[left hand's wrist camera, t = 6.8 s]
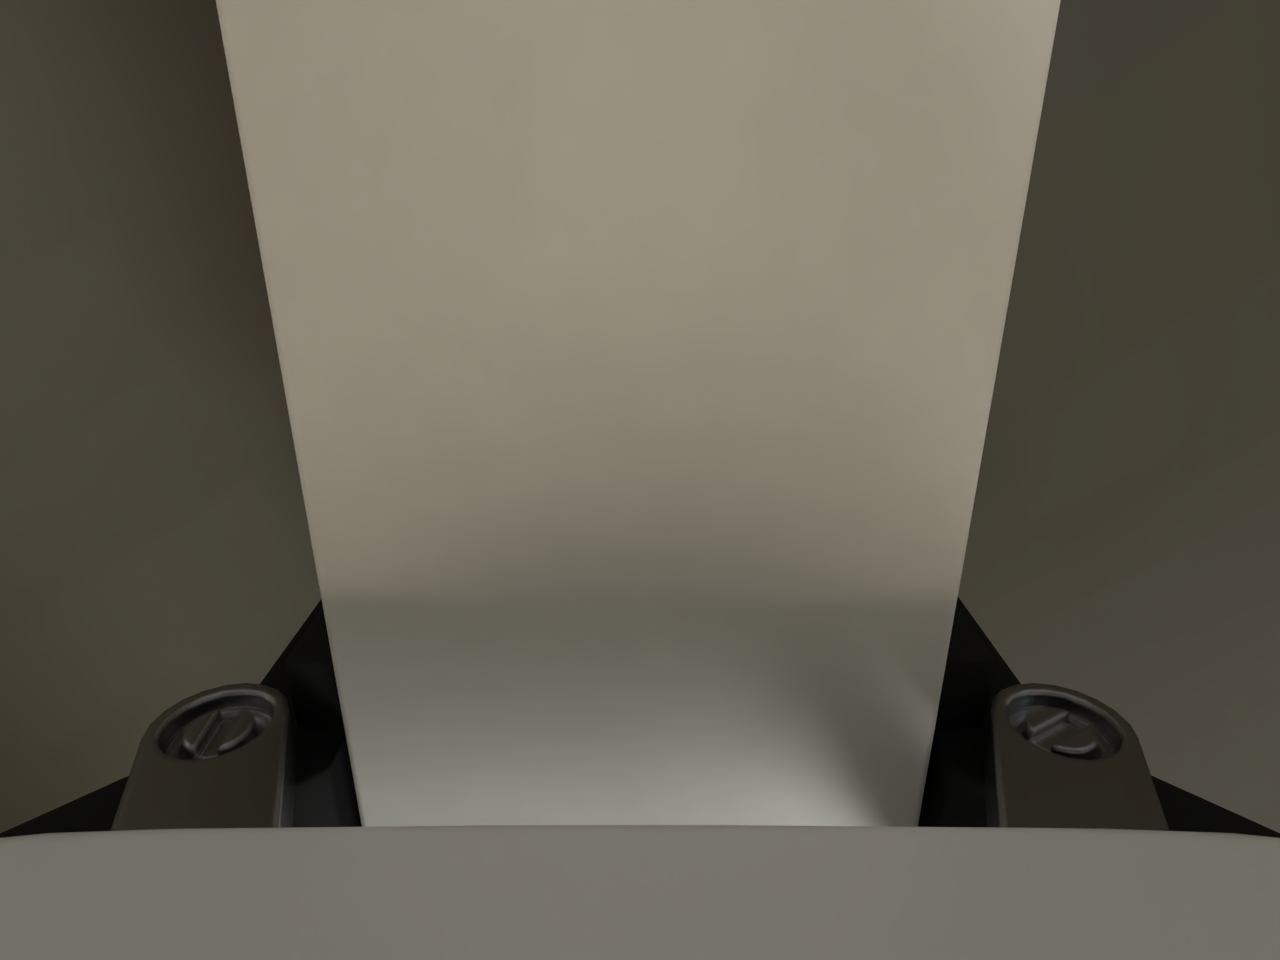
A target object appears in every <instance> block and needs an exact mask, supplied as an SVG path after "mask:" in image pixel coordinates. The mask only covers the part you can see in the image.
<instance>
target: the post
mask: <svg viewBox="0 0 1280 960" xmlns="http://www.w3.org/2000/svg"><path fill="white" fill-rule="evenodd" d="M216 5H217V10H218V16H219V22H220V27H221V33H222V39H223V44H224V50H225V56H226V61H227V67H228V73H229V78H230V84H231V90H232V95H233V101H234V107H235V112H236V118H237V124H238V129H239V135H240V141H241V146H242V152H243V157H244V163H245V169H246V174H247V180H248V186H249V191H250V197H251V203H252V208H253V214H254V220H255V225H256V231H257V237H258V242H259V248H260V254H261V259H262V265H263V271H264V276H265V282H266V288H267V293H268V299H269V305H270V310H271V316H272V322H273V327H274V333H275V339H276V344H277V350H278V355H279V361H280V367H281V372H282V378H283V384H284V389H285V395H286V401H287V406H288V412H289V418H290V423H291V429H292V435H293V440H294V446H295V452H296V457H297V463H298V469H299V474H300V480H301V486H302V491H303V497H304V503H305V508H306V514H307V520H308V525H309V531H310V536H311V542H312V548H313V553H314V559H315V565H316V570H317V576H318V582H319V587H320V593H321V599H322V604H323V610H324V616H325V621H326V627H327V633H328V638H329V644H330V650H331V655H332V661H333V667H334V672H335V678H336V684H337V689H338V695H339V701H340V706H341V712H342V717H343V723H344V729H345V734H346V740H347V746H348V751H349V757H350V763H351V768H352V774H353V780H354V785H355V791H356V797H357V802H358V808H359V814H360V819H361V825H362V827H386V826H474V825H772V826H883V827H918V823H919V817H920V811H921V805H922V799H923V794H924V788H925V782H926V776H927V770H928V765H929V759H930V753H931V747H932V741H933V736H934V730H935V724H936V718H937V713H938V707H939V701H940V695H941V689H942V684H943V678H944V672H945V666H946V660H947V655H948V649H949V643H950V637H951V631H952V626H953V620H954V614H955V608H956V603H957V597H958V591H959V585H960V579H961V574H962V568H963V562H964V556H965V550H966V545H967V539H968V533H969V527H970V521H971V516H972V510H973V504H974V498H975V493H976V487H977V481H978V475H979V469H980V464H981V458H982V452H983V446H984V440H985V435H986V429H987V423H988V417H989V412H990V406H991V400H992V394H993V388H994V383H995V377H996V371H997V365H998V359H999V354H1000V348H1001V342H1002V336H1003V330H1004V325H1005V319H1006V313H1007V307H1008V302H1009V296H1010V290H1011V284H1012V278H1013V273H1014V267H1015V261H1016V255H1017V249H1018V244H1019V238H1020V232H1021V226H1022V220H1023V215H1024V209H1025V203H1026V197H1027V192H1028V186H1029V180H1030V174H1031V168H1032V163H1033V157H1034V151H1035V145H1036V139H1037V134H1038V128H1039V122H1040V116H1041V110H1042V105H1043V99H1044V93H1045V87H1046V82H1047V76H1048V70H1049V64H1050V58H1051V53H1052V47H1053V41H1054V35H1055V29H1056V24H1057V18H1058V12H1059V6H1060V0H216Z"/></svg>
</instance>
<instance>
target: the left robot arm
mask: <svg viewBox="0 0 1280 960" xmlns="http://www.w3.org/2000/svg"><path fill="white" fill-rule="evenodd" d="M0 960H1280V833H1278V832H1275V831H1273V830H1271V829H1269V828H1266V827H1264V826H1262V825H1260V824H1258V823H1255V822H1253V821H1251V820H1249V819H1247V818H1244V817H1242V816H1240V815H1238V814H1235V813H1233V812H1231V811H1229V810H1227V809H1224V808H1222V807H1220V806H1218V805H1215V804H1213V803H1211V802H1209V801H1207V800H1204V799H1202V798H1200V797H1198V796H1195V795H1193V794H1191V793H1189V792H1187V791H1184V790H1182V789H1180V788H1178V787H1175V786H1173V785H1171V784H1169V783H1167V782H1164V781H1162V780H1160V779H1158V778H1156V777H1153V776H1151V775H1150V772H1149V769H1148V766H1147V763H1146V760H1145V757H1144V754H1143V751H1142V748H1141V745H1140V742H1139V739H1138V737H1137V736H1136V734H1135V732H1134V731H1133V729H1132V727H1131V725H1130V724H1129V723H1128V722H1127V721H1126V720H1125V719H1123V718H1122V717H1121V716H1120V715H1119V714H1118V713H1117V712H1116V711H1114V710H1113V709H1111V708H1110V707H1108V706H1106V705H1105V704H1103V703H1102V702H1100V701H1098V700H1096V699H1094V698H1092V697H1089V696H1087V695H1085V694H1082V693H1080V692H1077V691H1074V690H1071V689H1067V688H1063V687H1059V686H1055V685H1047V684H1037V683H1030V684H1020V682H1019V681H1018V679H1017V678H1016V677H1015V675H1014V674H1013V673H1012V671H1011V670H1010V668H1009V667H1008V666H1007V664H1006V663H1005V661H1004V660H1003V659H1002V657H1001V656H1000V654H999V653H998V652H997V650H996V649H995V648H994V646H993V645H992V643H991V642H990V641H989V639H988V638H987V636H986V635H985V634H984V632H983V631H982V630H981V628H980V627H979V625H978V624H977V623H976V621H975V620H974V618H973V617H972V616H971V614H970V613H969V611H968V610H967V609H966V607H965V606H964V605H963V603H962V602H961V600H960V599H959V598H958V597H957V603H956V608H955V614H954V620H953V626H952V631H951V637H950V643H949V649H948V655H947V660H946V666H945V672H944V678H943V684H942V689H941V695H940V701H939V707H938V713H937V718H936V724H935V730H934V736H933V741H932V747H931V753H930V759H929V765H928V770H927V776H926V782H925V788H924V794H923V799H922V805H921V811H920V817H919V823H918V827H883V826H772V825H474V826H386V827H362V825H361V819H360V814H359V808H358V802H357V797H356V791H355V785H354V780H353V774H352V768H351V763H350V757H349V751H348V746H347V740H346V734H345V729H344V723H343V717H342V712H341V706H340V701H339V695H338V689H337V684H336V678H335V672H334V667H333V661H332V655H331V650H330V644H329V638H328V633H327V627H326V621H325V616H324V610H323V604H322V599H321V600H320V602H319V603H318V604H317V606H316V607H315V609H314V610H313V611H312V613H311V614H310V616H309V617H308V618H307V620H306V621H305V622H304V624H303V625H302V627H301V628H300V629H299V631H298V632H297V634H296V635H295V636H294V638H293V639H292V641H291V642H290V643H289V645H288V646H287V647H286V649H285V650H284V652H283V653H282V654H281V656H280V657H279V659H278V660H277V661H276V663H275V664H274V665H273V667H272V668H271V670H270V671H269V672H268V674H267V675H266V677H265V678H264V679H263V681H262V682H261V683H260V684H250V683H243V684H233V685H225V686H221V687H217V688H213V689H209V690H206V691H203V692H200V693H198V694H195V695H193V696H191V697H188V698H186V699H184V700H182V701H180V702H178V703H177V704H175V705H174V706H172V707H170V708H169V709H167V710H166V711H164V712H163V713H162V714H161V715H160V716H159V717H158V718H157V719H155V720H154V721H153V722H152V723H151V724H150V725H149V727H148V729H147V731H146V732H145V734H144V736H143V737H142V739H141V742H140V745H139V748H138V751H137V754H136V757H135V760H134V763H133V766H132V769H131V772H130V775H129V776H127V777H125V778H123V779H121V780H119V781H116V782H114V783H112V784H110V785H107V786H105V787H103V788H101V789H99V790H96V791H94V792H92V793H90V794H87V795H85V796H83V797H81V798H79V799H76V800H74V801H72V802H70V803H67V804H65V805H63V806H61V807H59V808H56V809H54V810H52V811H50V812H47V813H45V814H43V815H41V816H39V817H36V818H34V819H32V820H30V821H27V822H25V823H23V824H21V825H19V826H16V827H14V828H12V829H10V830H7V831H5V832H3V833H1V834H0Z"/></svg>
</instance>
